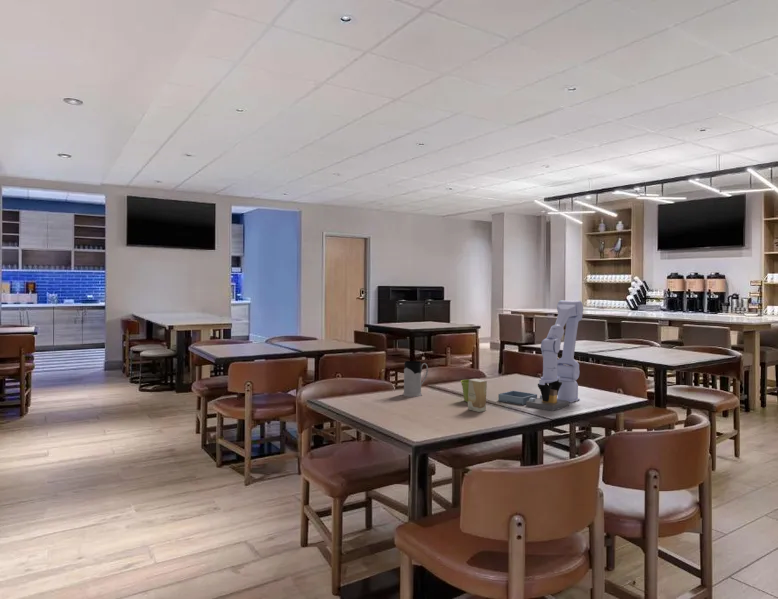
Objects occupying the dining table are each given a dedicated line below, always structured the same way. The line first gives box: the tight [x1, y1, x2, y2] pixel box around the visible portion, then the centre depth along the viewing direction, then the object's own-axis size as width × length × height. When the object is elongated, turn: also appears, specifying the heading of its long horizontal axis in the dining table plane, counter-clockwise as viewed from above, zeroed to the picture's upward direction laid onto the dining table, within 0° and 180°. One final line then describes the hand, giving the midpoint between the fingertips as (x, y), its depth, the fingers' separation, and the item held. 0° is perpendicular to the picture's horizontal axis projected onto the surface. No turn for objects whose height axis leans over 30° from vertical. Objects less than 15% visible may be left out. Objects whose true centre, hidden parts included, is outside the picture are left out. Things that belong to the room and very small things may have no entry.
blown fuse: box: [542, 389, 558, 403], centre depth 228 cm, size 3×5×7 cm, turn 46°
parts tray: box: [497, 390, 538, 406], centre depth 238 cm, size 12×12×3 cm
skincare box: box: [467, 378, 488, 413], centre depth 219 cm, size 6×4×12 cm
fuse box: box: [525, 394, 570, 412], centre depth 228 cm, size 14×12×3 cm
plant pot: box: [460, 379, 470, 403], centre depth 237 cm, size 9×9×9 cm
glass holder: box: [402, 360, 429, 398], centre depth 252 cm, size 9×14×15 cm, turn 132°
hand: (549, 400), depth 228 cm, fingers open, 6 cm apart
